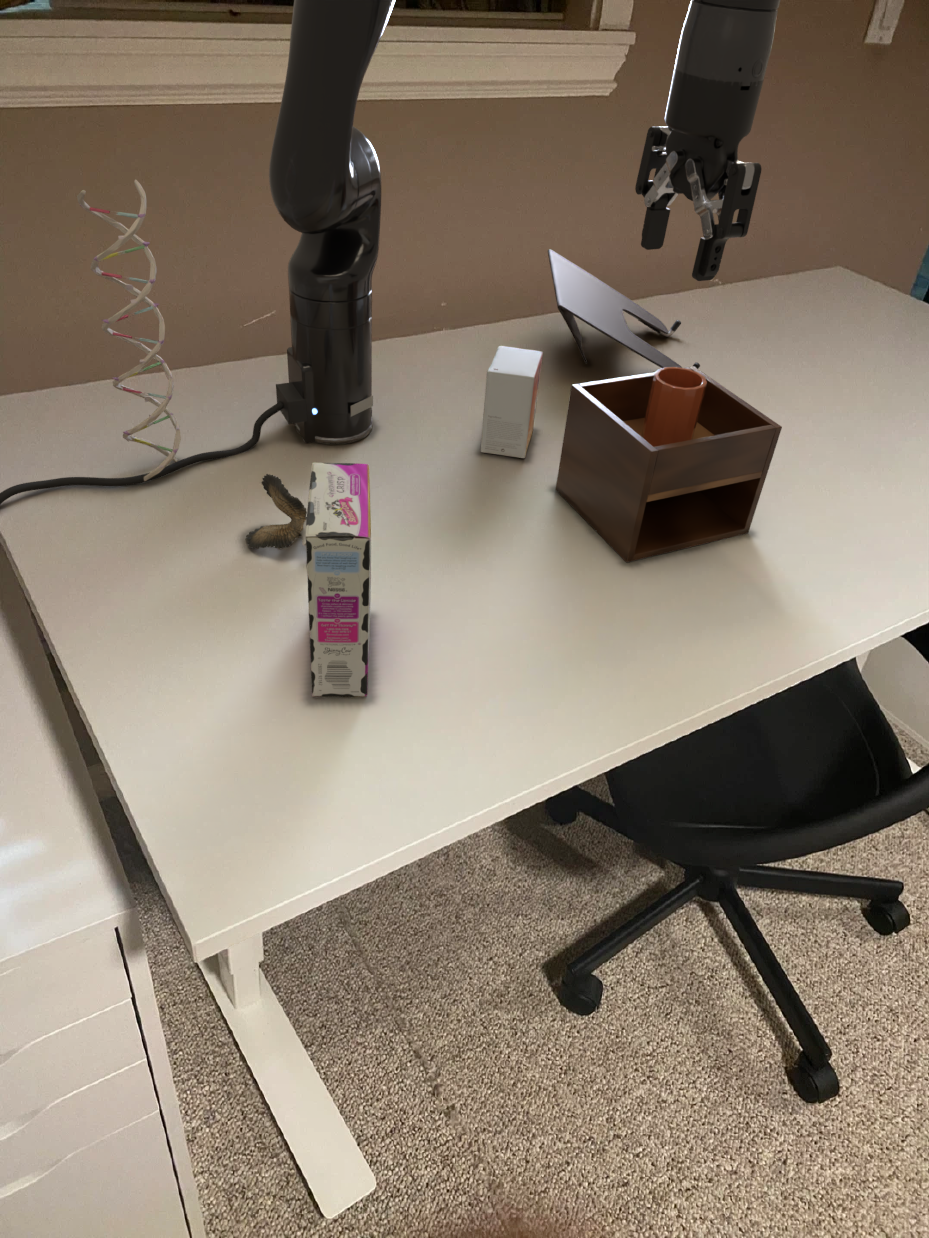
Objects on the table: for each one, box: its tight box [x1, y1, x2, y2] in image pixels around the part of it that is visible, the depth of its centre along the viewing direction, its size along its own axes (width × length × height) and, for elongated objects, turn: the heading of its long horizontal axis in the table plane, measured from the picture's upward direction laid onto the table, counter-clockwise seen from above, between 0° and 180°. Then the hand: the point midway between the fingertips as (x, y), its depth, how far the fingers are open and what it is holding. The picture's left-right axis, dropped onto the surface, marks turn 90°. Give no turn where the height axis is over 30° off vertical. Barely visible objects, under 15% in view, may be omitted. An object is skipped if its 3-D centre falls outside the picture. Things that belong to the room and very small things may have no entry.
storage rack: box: [555, 365, 783, 563], centre depth 98 cm, size 16×15×13 cm
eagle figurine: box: [245, 473, 307, 550], centre depth 91 cm, size 8×7×9 cm
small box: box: [480, 345, 544, 459], centre depth 109 cm, size 8×6×10 cm
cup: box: [641, 367, 707, 447], centre depth 95 cm, size 5×5×8 cm
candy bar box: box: [305, 462, 372, 699], centre depth 75 cm, size 11×5×16 cm, turn 5°
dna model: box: [76, 179, 182, 481], centre depth 92 cm, size 7×6×30 cm
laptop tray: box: [547, 248, 701, 369], centre depth 134 cm, size 23×23×9 cm
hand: (676, 263), depth 87 cm, fingers open, 8 cm apart
